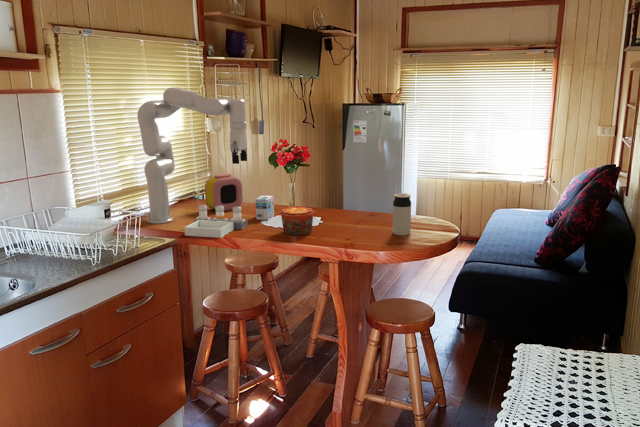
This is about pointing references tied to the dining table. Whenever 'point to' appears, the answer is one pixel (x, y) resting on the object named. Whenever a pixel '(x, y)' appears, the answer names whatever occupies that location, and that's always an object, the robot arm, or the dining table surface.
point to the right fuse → (237, 214)
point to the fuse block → (236, 225)
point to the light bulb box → (264, 207)
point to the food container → (297, 220)
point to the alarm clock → (223, 192)
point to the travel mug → (401, 214)
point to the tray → (209, 228)
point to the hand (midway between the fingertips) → (239, 162)
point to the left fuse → (202, 212)
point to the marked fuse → (219, 213)
